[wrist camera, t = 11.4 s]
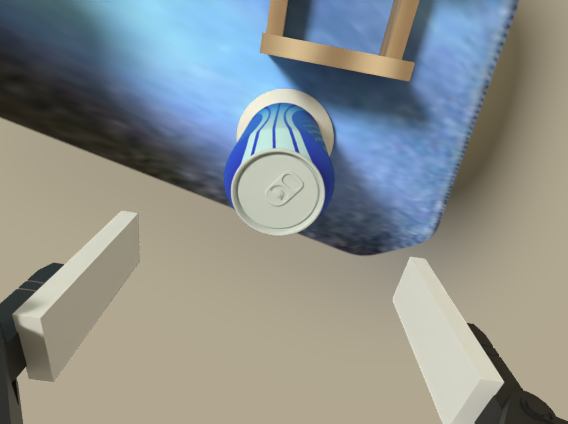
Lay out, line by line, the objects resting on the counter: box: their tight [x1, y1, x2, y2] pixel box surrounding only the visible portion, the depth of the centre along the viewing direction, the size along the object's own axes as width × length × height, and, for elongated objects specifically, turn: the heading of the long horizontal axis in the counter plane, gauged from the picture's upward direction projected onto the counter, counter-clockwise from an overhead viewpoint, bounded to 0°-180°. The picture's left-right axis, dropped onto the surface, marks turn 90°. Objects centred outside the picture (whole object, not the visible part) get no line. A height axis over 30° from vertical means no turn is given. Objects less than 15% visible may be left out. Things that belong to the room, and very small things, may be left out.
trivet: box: [237, 88, 334, 157], centre depth 37 cm, size 11×11×1 cm
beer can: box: [224, 103, 334, 236], centre depth 30 cm, size 8×8×16 cm
